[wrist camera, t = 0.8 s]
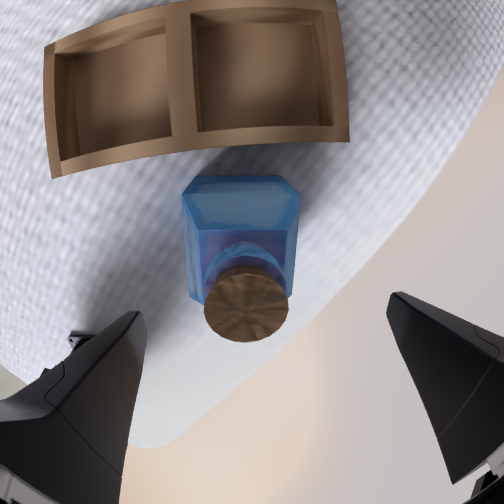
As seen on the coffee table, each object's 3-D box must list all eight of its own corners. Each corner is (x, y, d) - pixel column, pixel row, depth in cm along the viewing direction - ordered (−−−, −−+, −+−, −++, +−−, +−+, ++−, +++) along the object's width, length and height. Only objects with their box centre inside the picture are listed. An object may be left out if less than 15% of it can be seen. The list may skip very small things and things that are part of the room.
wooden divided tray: (78, 169, 18) (51, 179, 15) (70, 55, 14) (44, 46, 11) (328, 139, 19) (349, 142, 16) (318, 19, 15) (335, 0, 11)
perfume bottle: (280, 176, 20) (338, 232, 9) (276, 252, 23) (314, 362, 12) (195, 176, 20) (152, 233, 9) (199, 253, 22) (175, 366, 11)
